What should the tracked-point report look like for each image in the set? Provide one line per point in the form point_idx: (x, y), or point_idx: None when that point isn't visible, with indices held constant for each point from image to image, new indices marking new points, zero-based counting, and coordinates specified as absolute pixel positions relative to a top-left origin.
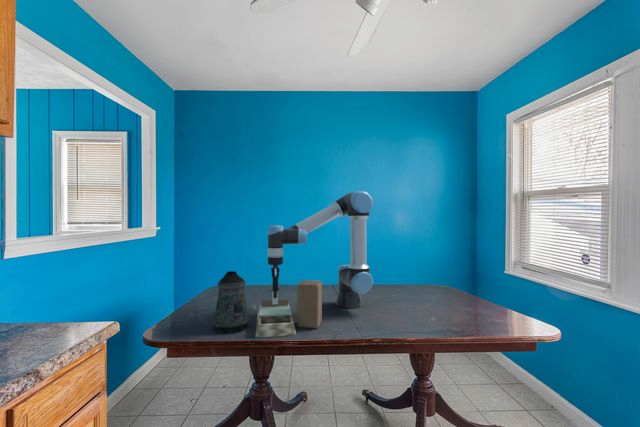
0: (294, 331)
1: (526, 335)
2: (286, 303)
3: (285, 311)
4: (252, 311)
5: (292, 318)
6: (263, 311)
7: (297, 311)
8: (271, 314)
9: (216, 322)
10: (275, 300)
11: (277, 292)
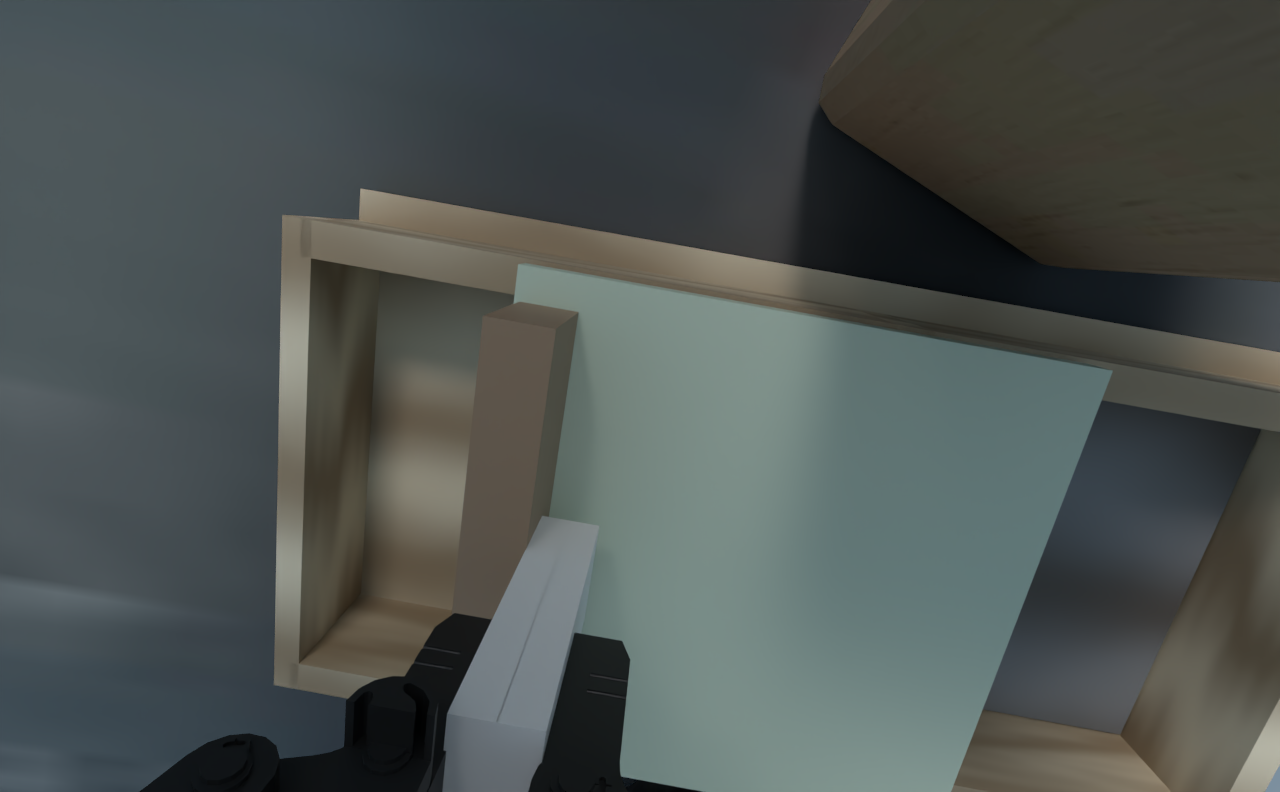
0: (1277, 370)
1: None
2: (566, 343)
3: (941, 446)
4: (235, 653)
5: (1224, 384)
6: (787, 753)
7: (1253, 278)
8: (990, 682)
9: None
10: (581, 610)
11: (554, 706)
